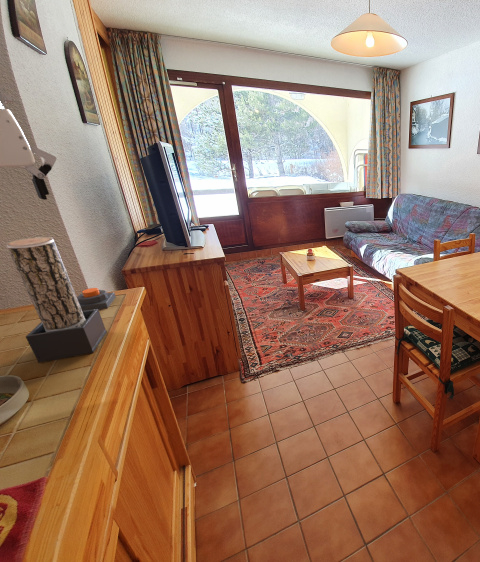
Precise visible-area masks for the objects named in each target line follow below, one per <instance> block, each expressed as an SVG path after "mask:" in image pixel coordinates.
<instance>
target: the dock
mask: <svg viewBox="0 0 480 562" xmlns="http://www.w3.org/2000/svg"><path fill="white" fill-rule="evenodd" d="M82 312H83V314H84V317H85V319H86V321H85V323H84V324H83V325H82V326H81V327H77V328H71V329H64V330H58V331H51V332H46V331H45V329H44V326H43V324H42V322H41V321H40V322H39V323H38V324H37V325H36V326H35V327H34V328H33V329H32V330H31V331H30V332H29V333H28V334H26V336H25V339H26V340H27V343H28V345H29V346H30V349H31V351H32V353H33V355H34V356H35V359H36V361H37V363H38V364H40V363H46V362H51V361H57V360H62V359H68V358H74V357H78V356H83V355H88V354H89V355H90V354H94V353H95V351H96V350H97V348H98V347H99V345H100V343H101V342H102V340H103V339H104V337H105V336H106V334H107V330H106V326H105V324H104V321H103V318H102V316H101V312H100V309H99V310H98V309H94V310H87V311H82Z"/></svg>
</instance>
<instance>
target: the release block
mask: <svg viewBox="0 0 480 562" xmlns="http://www.w3.org/2000/svg"><path fill="white" fill-rule="evenodd" d="M98 290H99V293H100V294H99V295H97V296H93V297H88V298H86V297H84V296H83V293H80V294H78V296H76V297H77V299H78V302H79V304H80V307H81V309H82V311H87V310H94V309H98V310H99V311H100V310H104V309H105V310H106V309H109V307H110V306H111V304H113V302H114V301H115V299H116V298H117V296H116V293H115V292H107V291H106V290H105V289H98Z"/></svg>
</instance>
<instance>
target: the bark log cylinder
mask: <svg viewBox="0 0 480 562" xmlns="http://www.w3.org/2000/svg"><path fill="white" fill-rule="evenodd" d="M5 246H6V249H7V251H8V253H9V256H10V257H11V260H12V262H13V264H14V266H15V268H16V270H17V273H18V274H19V277H20V279H21V281H22V283H23V285H24V287H25V289H26V292H27V294H28V296H29V298H30V301H31V303H32V305H33V307H34V310H35V311H36V314H37V315H38V318H39V320H40V323H41V322H42V324H43V326H44V329H45V331H46V332H51V331H58V330H64V329H71V328H77V327H81V326H82V325H83V324H84V323H85V321H86V319H85V317H84V314H83V312H82V309H81V307H80V304H79V302H78V299H77V297H78V296H77V295H76V291H75V289H74V287H73V285H72V282H71V279H70V277H69V275H68V271H67V269H66V267H65V264H64V262H63V260H62V257H61V254H60V252H59V249H58V246H57V244H56V242H55V239H54V237H52V236H37V237H27V238H22V239H16V240H13V241H12V240H11V241H9V242H7V243H5Z"/></svg>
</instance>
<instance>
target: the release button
mask: <svg viewBox="0 0 480 562" xmlns="http://www.w3.org/2000/svg"><path fill="white" fill-rule="evenodd" d="M99 290H100V289H99V288H98V287H90V288H86V289H84V290H82V292H81V294H83V296H84V297H86V298H88V297H93V296H97V295H99V294H100V293H99Z"/></svg>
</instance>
